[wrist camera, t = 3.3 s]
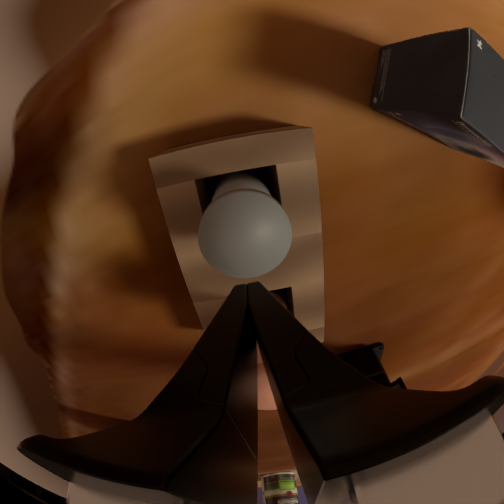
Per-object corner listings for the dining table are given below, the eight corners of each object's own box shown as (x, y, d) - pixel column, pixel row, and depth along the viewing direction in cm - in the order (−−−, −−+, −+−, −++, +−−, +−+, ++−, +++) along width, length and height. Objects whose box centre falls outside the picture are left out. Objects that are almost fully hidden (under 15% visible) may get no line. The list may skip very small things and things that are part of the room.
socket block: (313, 313, 27) (323, 341, 23) (217, 330, 27) (216, 360, 23) (297, 125, 18) (312, 127, 15) (163, 150, 18) (148, 158, 15)
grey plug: (274, 215, 21) (296, 269, 14) (217, 226, 21) (210, 284, 14) (265, 158, 19) (286, 185, 12) (204, 170, 19) (187, 203, 12)
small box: (366, 111, 18) (459, 121, 9) (378, 44, 15) (466, 19, 6) (452, 152, 19) (534, 186, 10) (462, 95, 16) (545, 108, 7)
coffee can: (270, 471, 56) (275, 513, 43) (301, 471, 58) (307, 509, 46) (254, 479, 60) (258, 516, 48) (283, 479, 63) (288, 514, 50)
